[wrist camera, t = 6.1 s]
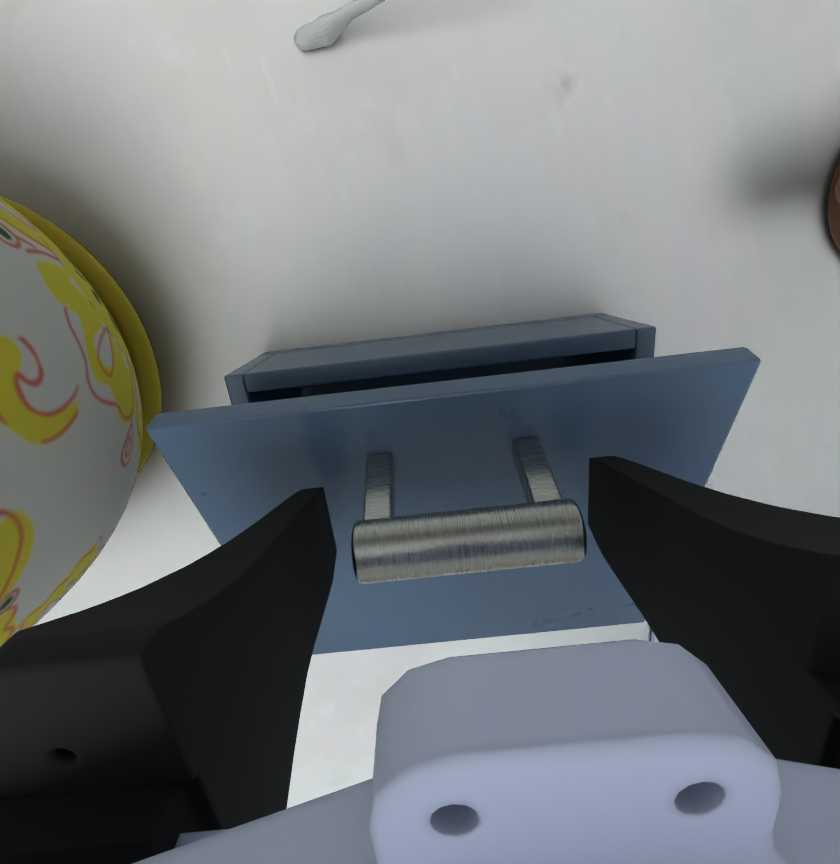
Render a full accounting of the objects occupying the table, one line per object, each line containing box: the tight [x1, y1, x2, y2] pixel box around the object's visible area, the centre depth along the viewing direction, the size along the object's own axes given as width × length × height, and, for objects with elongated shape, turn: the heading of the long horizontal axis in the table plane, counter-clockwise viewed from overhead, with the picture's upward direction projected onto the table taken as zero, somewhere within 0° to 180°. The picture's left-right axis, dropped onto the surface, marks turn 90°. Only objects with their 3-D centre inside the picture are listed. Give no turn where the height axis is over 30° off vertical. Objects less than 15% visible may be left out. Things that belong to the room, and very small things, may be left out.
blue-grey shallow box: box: [225, 313, 656, 405], centre depth 20 cm, size 12×15×5 cm
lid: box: [147, 347, 760, 655], centre depth 14 cm, size 13×15×4 cm
